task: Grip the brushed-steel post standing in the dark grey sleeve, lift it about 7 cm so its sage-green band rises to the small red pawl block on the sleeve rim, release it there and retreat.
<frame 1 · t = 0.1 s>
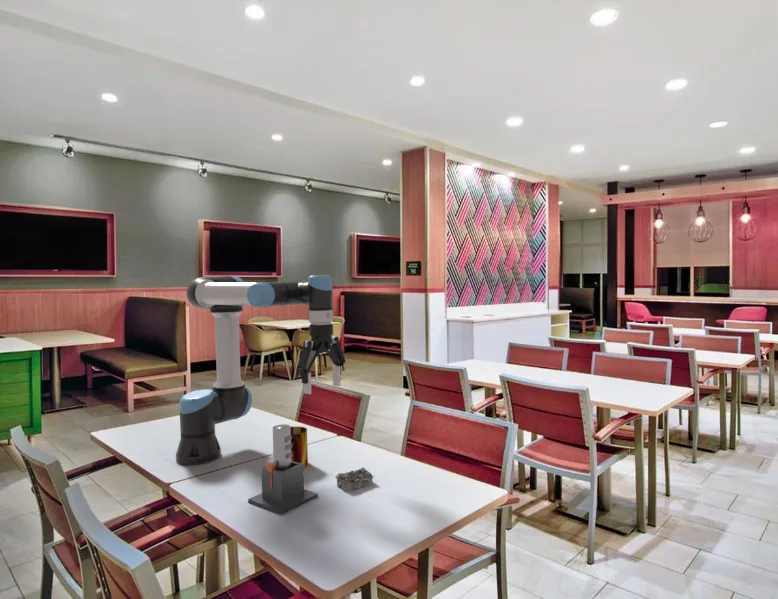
hand: (322, 389, 168), 28 cm above the table, fingers open, 13 cm apart
stand: (283, 499, 151), on the table
mug: (296, 467, 177), on the table
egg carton: (354, 485, 162), on the table
column: (283, 461, 151), point 11 cm above the table, slide at 0.0 cm
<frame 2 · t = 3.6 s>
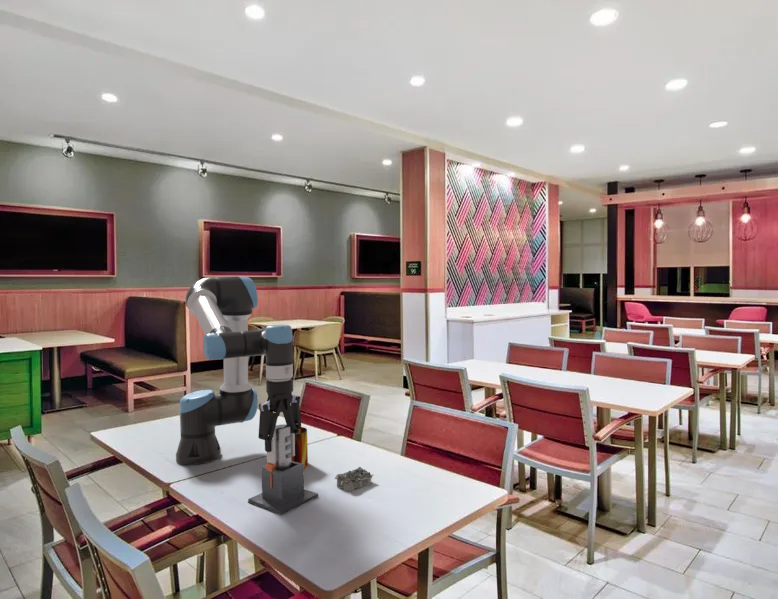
hand: (281, 458, 150), 12 cm above the table, fingers open, 7 cm apart
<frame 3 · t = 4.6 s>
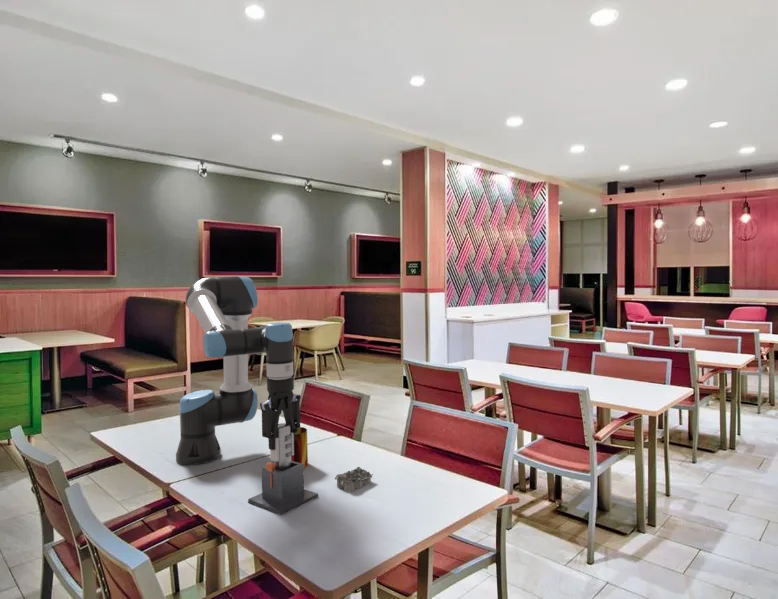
hand: (282, 457, 151), 13 cm above the table, fingers closed on column, 5 cm apart
column: (283, 460, 151), point 12 cm above the table, slide at 0.3 cm, touching gripper
everything else where it was.
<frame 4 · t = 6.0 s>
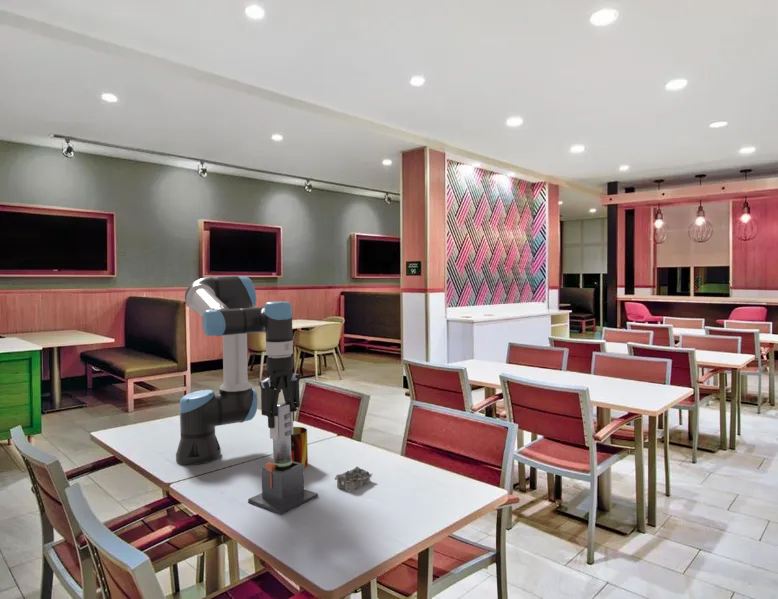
hand: (281, 435, 151), 19 cm above the table, fingers closed on column, 5 cm apart
column: (282, 439, 150), point 18 cm above the table, slide at 6.5 cm, touching gripper
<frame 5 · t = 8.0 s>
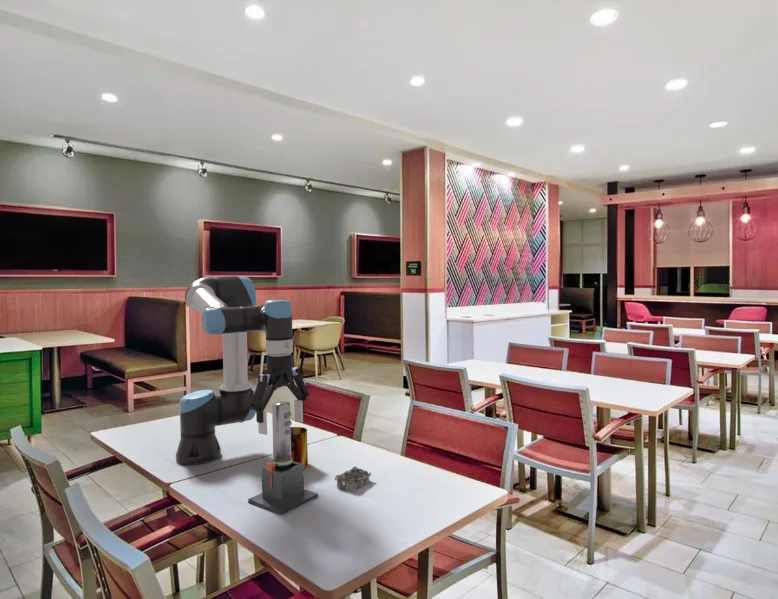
hand: (281, 427, 150), 21 cm above the table, fingers open, 13 cm apart
column: (282, 438, 150), point 18 cm above the table, slide at 6.8 cm
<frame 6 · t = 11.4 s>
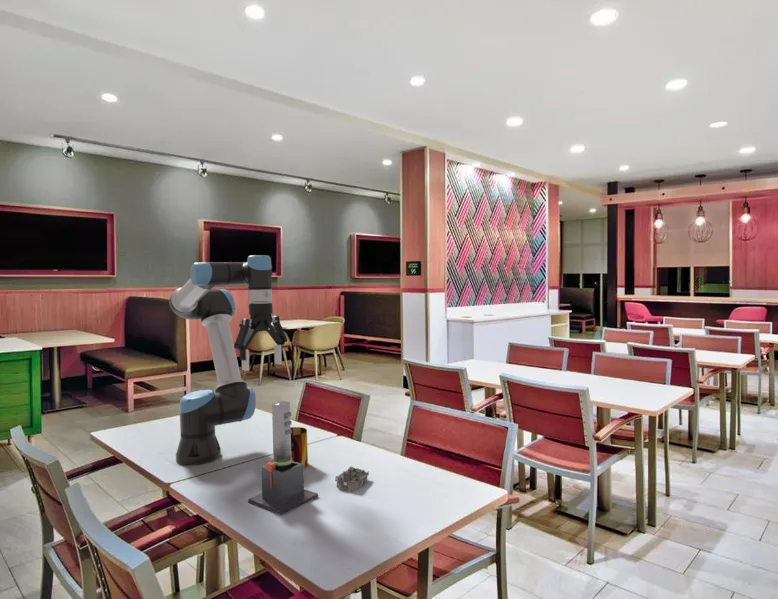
hand: (262, 367, 172), 35 cm above the table, fingers open, 13 cm apart
at the end: column slide at 6.8 cm; the gripper is holding nothing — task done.
